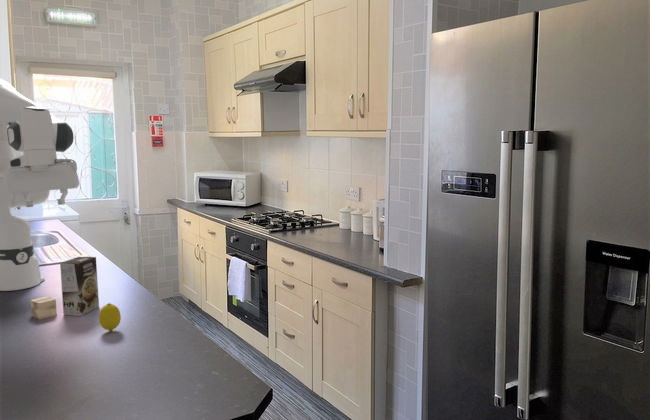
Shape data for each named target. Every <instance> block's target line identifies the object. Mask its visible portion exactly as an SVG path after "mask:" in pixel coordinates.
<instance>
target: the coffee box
mask: <svg viewBox="0 0 650 420" xmlns="http://www.w3.org/2000/svg"><path fill="white" fill-rule="evenodd" d="M59 265H60V280H61V295H62V297H61V298H62V310H63V312H62V313H63V316H74V317H75V316H77V317H82V316H85V315H86V314H88V313H90V312H92V311H94V310H96V309H98V308H100V298H99V286H98V270H97V266H98V265H97V257H96V256H77V257H74V258H71V259H68V260H64V261H63V262H60V263H59Z"/></svg>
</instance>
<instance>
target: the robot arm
mask: <svg viewBox="0 0 650 420" xmlns="http://www.w3.org/2000/svg"><path fill="white" fill-rule="evenodd" d="M73 132H74V131H73V129H72V127H71V125H69V124H68V123H67V122H66V121H64V120H62V119H61V120H60V119H59V118H57V117H56V116H55V115H54V114H52V113H51V112H50V110H49V109H48V108H47V107H43V106H42V105H41V104H39V103H37V102H34V101H32V100H31V99H29V98H27V97H26V96H24V95H22V94H21V93H20V92H18V90H16V88H15V87H14V86H13V85H12V84H10V83H9V82H7V81H6V80H4V79H2V78H0V291H1V292H7V291H9V292H10V291H20V290H24V289H29V288H33V287H35V286H37V285H38V286H39V284H41V282H43V281H45V277H44V276H42V275H41V269H40V264H39V262H40V261H39V259H38V258H37V257H35V256H34V255H35V248H34V245H33V243H32V233H31V225H30V223H29V222H28V221H27V220H25V219H23V218H21V217H18V216H15V215H12V213H11V209H12V208H21V207H22V208H23V207H25V208H33V207H34V206H36V205H40V204H42V203H43V204H44V203H45V202H46V201H47V200H48V199H49V196H50V193H51V191H55V190H56V191H57V190H59V193H60V194H61V195H60V198H58V199H56V200H57V206H58V205H59V206H61V205H65V204H66V197H67V196H68V193H69V192H68V190H72V189H73V190H74V189H78V187H79V186H80V180H79V176H78V172H77V171H78V166H77V165H78V164H77V162H76V161H75V160H74V159H72V158H70V157H69V158H57V156H58V155H57V153H65V152H66V151H67V150H68V149H69V148H70V147H71V146H72V145H73V143H74V133H73ZM15 151H16V152H17V151H18V152H23V153H22V154H21V155H19V156H17V154H16V152H15Z"/></svg>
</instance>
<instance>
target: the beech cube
mask: <svg viewBox="0 0 650 420" xmlns="http://www.w3.org/2000/svg"><path fill="white" fill-rule="evenodd" d="M30 307H31V308H30V310H31V317H34V318H36V319H38V320H44V319H46V318H50V317H54V316H57V313H58V312H57V302H56V299H55V298H53V297H51V296H49V295H47V296H42V297H38V298H33V299H30Z"/></svg>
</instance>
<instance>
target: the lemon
mask: <svg viewBox="0 0 650 420" xmlns="http://www.w3.org/2000/svg"><path fill="white" fill-rule="evenodd" d="M121 317H122V316H121V312H120V309H119V307H118V306H117V305H115V304H112V303H111V302H109V303H107V304H105V305H103V307H102V308H100V310H99V315H98V322H99V324H100V326H101V328H103V329H104V330H107V331H108V332H113V330H114V329H116V328H117V327H118V326H119V325H120V323H121V319H122V318H121Z"/></svg>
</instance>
